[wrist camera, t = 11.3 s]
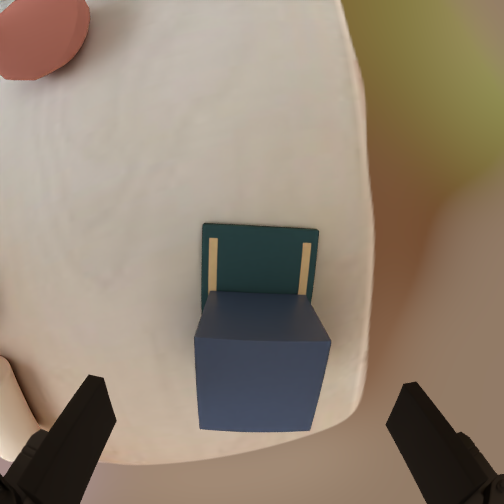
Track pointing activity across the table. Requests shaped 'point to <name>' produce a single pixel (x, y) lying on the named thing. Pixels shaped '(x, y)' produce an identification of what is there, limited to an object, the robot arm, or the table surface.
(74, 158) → the table surface
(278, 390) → the blue block
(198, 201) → the table surface
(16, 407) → the mug
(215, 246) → the mat
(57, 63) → the pink vase
